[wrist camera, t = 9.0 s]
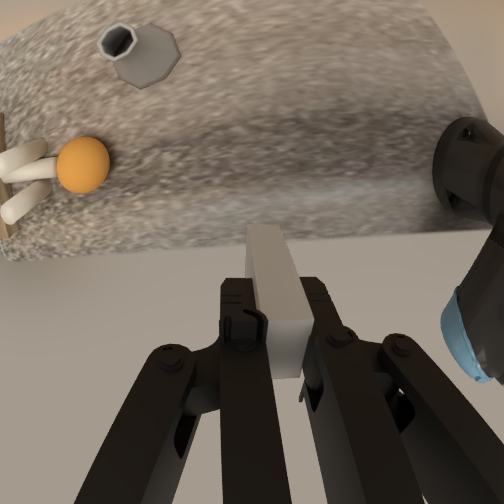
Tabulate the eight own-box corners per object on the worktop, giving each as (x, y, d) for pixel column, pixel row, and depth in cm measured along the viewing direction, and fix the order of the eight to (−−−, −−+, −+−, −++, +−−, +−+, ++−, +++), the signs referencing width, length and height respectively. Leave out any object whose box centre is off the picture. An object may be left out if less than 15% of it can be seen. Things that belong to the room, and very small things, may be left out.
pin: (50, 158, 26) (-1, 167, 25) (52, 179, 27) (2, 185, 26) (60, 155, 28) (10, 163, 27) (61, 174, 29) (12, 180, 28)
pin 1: (46, 136, 27) (6, 152, 19) (48, 156, 28) (9, 176, 21) (31, 139, 26) (-10, 156, 19) (33, 158, 28) (-7, 179, 20)
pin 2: (50, 176, 29) (13, 202, 22) (53, 195, 30) (18, 224, 23) (36, 178, 29) (-2, 203, 22) (39, 196, 30) (3, 225, 23)
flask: (139, 101, 27) (108, 104, 18) (101, 57, 24) (59, 48, 15) (193, 57, 25) (183, 40, 17) (153, 13, 22) (128, -16, 14)
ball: (61, 137, 27) (110, 131, 29) (65, 188, 29) (112, 182, 31) (48, 144, 22) (106, 136, 24) (53, 204, 24) (109, 197, 27)
